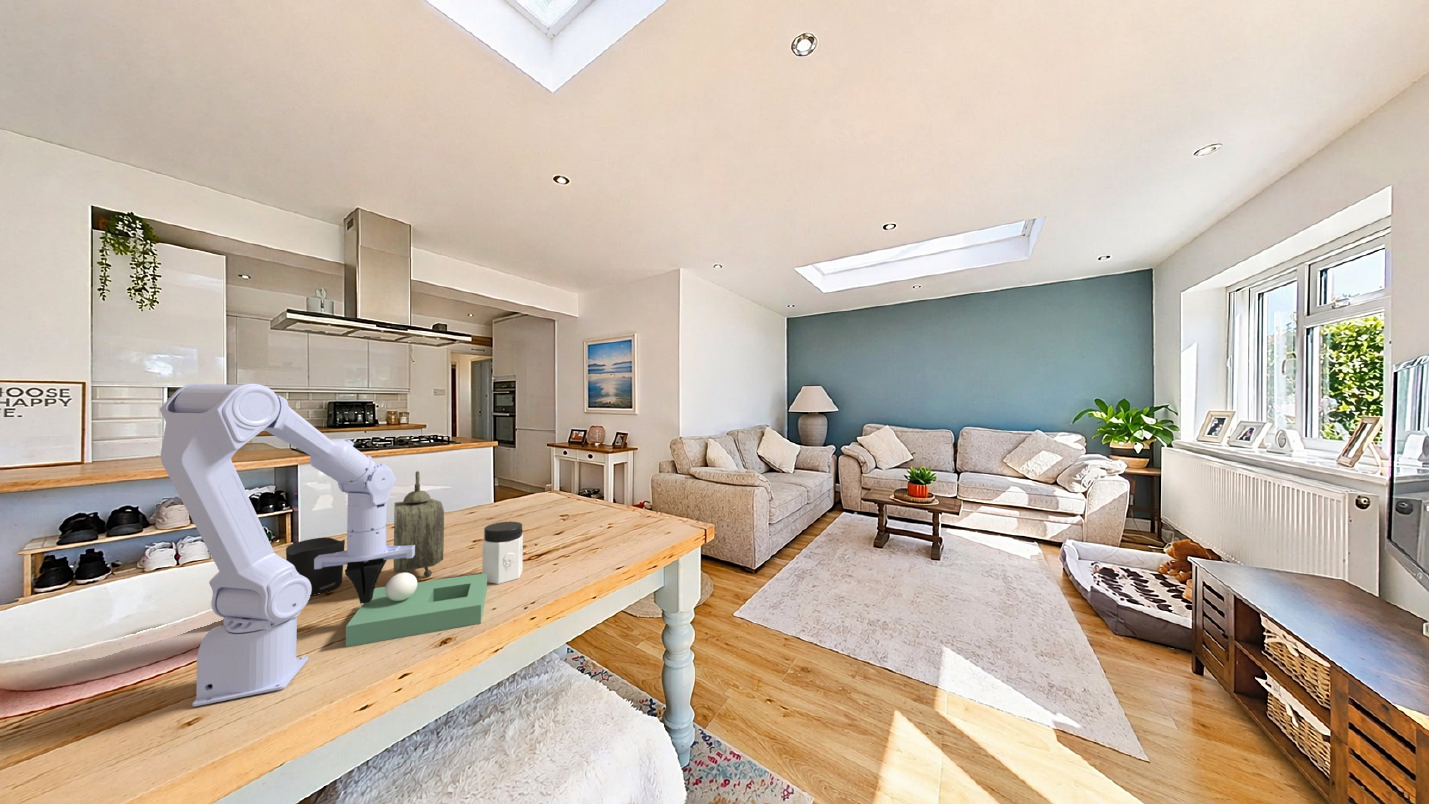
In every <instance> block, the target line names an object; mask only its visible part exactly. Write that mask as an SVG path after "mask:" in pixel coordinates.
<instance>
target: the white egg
mask: <svg viewBox="0 0 1429 804" xmlns="http://www.w3.org/2000/svg"><path fill="white" fill-rule="evenodd" d="M417 582H418V580H417V577H416V576H415V575H414V574H413V573H412V574H410V573H407V572H405V573H399V572H398V573H397V574H395V575H394V576H392V577H390V578H389V579H388V581H387V582H386V584H385V586H384V587H385V593H386V596H387V597H388V598H389V599H391V600H393V601H402V600H405V599H407V598H409V597H410V596H411V595H412V594H413V593H414V592H415V590H416V588H417Z"/></svg>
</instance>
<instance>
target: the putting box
mask: <svg viewBox="0 0 1429 804" xmlns="http://www.w3.org/2000/svg"><path fill="white" fill-rule="evenodd" d="M385 587H386V586H380V587H375V588H374V592H373V598H372V599H371V601H370V602H369V603H362V605H361V606H360V608H358V610H357V611H356V612H355V614H354V615H353V617H352V618H351V619H350V620H349V622H348V623H347V624H346V626H345V647H346V648H348V647H354V646H359V645H366V644H371V643H377V642H382V641H383V642H384V641H387V640H388V641H389V640H394V639H399V638H406V637H411V636H416V635H422V634H428V633H433V632H439V631H446V630H451V629H455V628H463V627H468V626H474V625H479V624H481V623H482V617H483V611H484V607H485V601H486V597H487V596H486V595H487V592H488V591H487V590H488V589H487V588H488V582H487V573H484V574H482V573H477V574H476V573H475V574H470V575H463V576H454V577H448V578H439V579H434V580H433V579H432V580H425V581H424V580H423V581H417V588H416V590H415V592H414V593H413V594H412V595H411V596H410V597H409V598H407V599H405V600H402V601H393V600H391V599H389V598H388V597H387V596H386V593H385Z"/></svg>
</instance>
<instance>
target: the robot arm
mask: <svg viewBox="0 0 1429 804" xmlns="http://www.w3.org/2000/svg"><path fill="white" fill-rule="evenodd" d="M159 411H160V413H161V415H162V417H163V419H164V421H165V427H164V434H163V439H162V445H161V450H160V460H161V464H162V466H163V468H164V470H165V472H166V473H167V476H168V477H169V479H170V480H171V483H172V484H173V486H174V489H175V490H176V492H177V494H178V496H179V499H180V500H181V501H182V503H183V505H184V507H185V509H186V511H187V513H188V515H189V516H190V519H191V521H192V523H193V525H194V526H195V528H196V530H197V532H198V533H199V536H200V537H201V539H202V541H203V543H204V545H205V547H206V549H207V550H208V552H209V554H210V555H211V558H212V560H213V562H214V564H215V566H216V567H217V569H218V572H217V573H216V574H215V575H214V576H213V577H212V578H211V579H209V581H208V584H209V585H210V587H211V590H212V597H211V601H210V602H211V605H210V606H211V609H212V611H213V613H214V614H216V616H218V617H222V618H223V625H217V626H216V627H213V628H211V629H210V630H209V631H208V632H207V633H206V634H205V636H203V638H202V641H201V642H200V644H199V647H198V651H197V656H196V658H197V659H196V694H195V696H196V699H195V700H194V701H193V702H192V707H198V706H203V705H209V704H213V703H218V702H223V701H229V700H235V699H238V698H239V699H240V698H244V697H249V696H254V695H260V694H264V693H270V692H274V691H280V690H283V689H285V688H286V687H287V686H288V685H289V684H290V683H291V681H292V680H293V679H294V677H295V676H296V675H297V674H298V672H299V671H300V670H301V669H302V668H303V666H304V665H305V664H306V663H307V661H309V656H307V655H306V656H301V657H297V643H298V642H297V641H298V640H297V637H298V636H297V635H298V633H297V631H298V629H297V628H298V616H300V615H301V611H302V610H304V608H305V607H306V606H307V604H308V602H309V600H310V598H311V596H310V595H311V590H312V587H311V583H310V581H309V580H308V579H307V578H306V577H304V576H302V575H300V574H299V573H298V572H297V571H296V569H295V567H294V565H293V564H291V563H290V562H288V561H287V560H286V558H283V557H281V556H280V555H278V554H277V553H275V551H274V549H273V547H272V544H271V542H270V540H269V538H268V535H267V534H266V531H265V529H264V527H263V525H262V523H261V521H260V519H259V517H258V515H257V512H256V510H255V508H254V506H253V504H252V501H251V500H250V498H249V495H248V493H247V491H246V489H245V487H244V484H243V483H242V480H241V478H240V476H239V473H238V472H237V469H236V467H235V464H234V463H233V461H232V458H233V457H234V456H235V454H236V453H237V451H239V449H241V448H243V446H245V445H246V444H247V443H248V442H250V441H251V440H253V438H255V437H256V436H257V435H259V434H260V433H261V432H263V431H265V432H267V433H269V434H270V435H273V436H275V437H276V438H278V439H280V440H282V441H283V442H285V443H287V444H289V445H291V446H292V447H294V448H296V449H298V450H300V451H302V452H304V453H305V454H307V455H309V464H310V465H311V467H313V468H314V469H316V470H318V471H320V472H321V473H322V474H324V475H326V476H328V477H330V478H331V479H333V480H334V481H336V482H337V486H338V489H339V490H340V491H341V492H342V493H346V494H347V512H346V513H347V517H346V519H347V521H346V522H347V523H346V525H347V527H346V529H347V530H346V550H344V551H342V552H337V553H331V554H324V555H319V556H317V557H316V558H315V559H314V569H321V568H323V567H329V566H338V565H343V566H345V565H346V569H345V570H344V573H345V575H346V576H347V578H348V579H349V580H350V582H351V583H352V584H353V586H354V589H355V590H356V593H357V596H358V599H359V604H362V605H363V604H364V603H369V602H370V601H371V599H372V598H373V592H374V589H375V588H376V584H377V581H378V579H379V576H380V574H381V572H382V570H383V569H384V567H385V565H386V563H387V561H388V560H394V559H399V558H406V559H408V558H413V557H414V555H415V545H409V546H394V545H387V531H388V530H387V529H388V528H387V525H388V524H387V522H388V521H387V520H388V517H387V516H388V511H387V510H388V502H389V499H391V492H392V489H393V488H394V486H395V484H396V481H397V476H395V474H394V472H393V470H392V469H391V468H390V466H388V465H386V464H384V463H376V462H375V461H374V460H373V457H372V456H370V455H368V454H367V455H366V454H364V453H363V452H361V450H358V449H357V448H356V447H354V446H355V442H353V441H352V440H351V439H342V438H334V439H333V438H332V439H330V438H328V436H326V435H325V434H323V432H321V431H320V430H318V429H317V428H316V427H314V426H313V425H312V424H311V423H310V422H309V421H307V420H306V419H305V418H304V417H302V416H301V415H300V414H298V413H297V412H296V411H295V410H294V409H292V408H291V407H290V405H289V402H288V400H287V399H286V398H285V397H283V396H281V395H279V394H276V393H275V391H274V390H272V389H271V388H269V387H268V386H265V385H263V384H258V383H244V384H221V383H220V384H217V383H216V384H213V383H212V384H211V383H203V382H195V383H194V382H193V383H189V384H186V385H184V386H181V387H180V388H178V389H176V391H174V393H173V394H172V395H171V396H170V397H169V398H168V399H167V400H166V401H165V402H164V404H162V405H161V407H160V408H159Z"/></svg>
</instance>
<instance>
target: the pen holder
mask: <svg viewBox="0 0 1429 804" xmlns="http://www.w3.org/2000/svg"><path fill="white" fill-rule="evenodd" d="M345 541H346V540H345V539H343V540H338V539H335V538H333V537H327V536H324V537H317V538H316V537H315V538H310V539H306V540H305V539H304V540H301V541H297V542H294V543H291V544H290V545H287V547H286V548H285V555H286V557H285V560H287V561H288V562H290V563H291V564H293V565H294V567H295V569H296V571H297V572H298V573H299V574H300V575H302V576H304V577H306V578H307V579H308V580H309V581H310V583H311V587H312V590H311V595H314V594H318V593H322V594H324V593H323V592H326V591H328V592H331V591H333V590H335V589H337V588H338V587H340V586H339V585H341V584H342V582H343V573H344V565H338V566H329V567H323V568H321V569H314V559H315V558H316V557H317V556H319V555H324V554H331V553H337V552H342V551H345V544H346V542H345ZM337 586H338V587H337ZM336 587H337V588H336ZM334 588H335V589H334ZM332 589H333V590H332ZM330 590H331V591H330ZM326 593H327V592H326ZM318 595H319V594H318ZM314 596H315V595H314Z"/></svg>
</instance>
